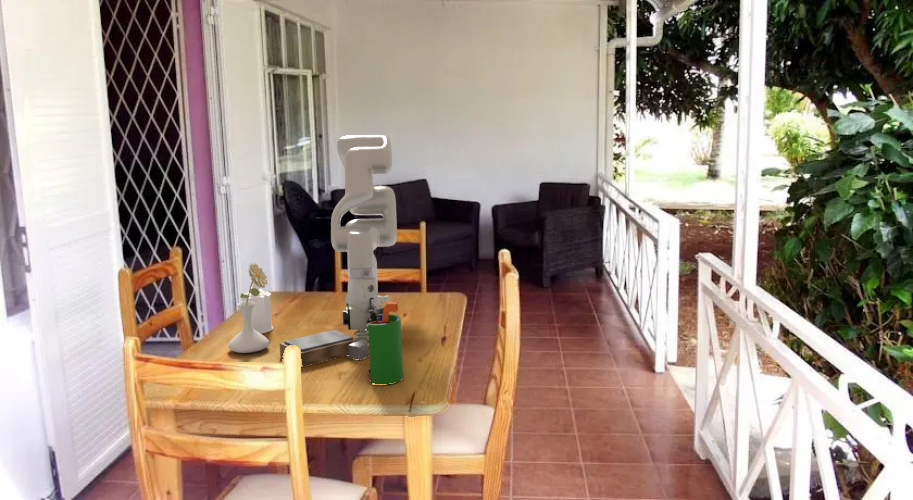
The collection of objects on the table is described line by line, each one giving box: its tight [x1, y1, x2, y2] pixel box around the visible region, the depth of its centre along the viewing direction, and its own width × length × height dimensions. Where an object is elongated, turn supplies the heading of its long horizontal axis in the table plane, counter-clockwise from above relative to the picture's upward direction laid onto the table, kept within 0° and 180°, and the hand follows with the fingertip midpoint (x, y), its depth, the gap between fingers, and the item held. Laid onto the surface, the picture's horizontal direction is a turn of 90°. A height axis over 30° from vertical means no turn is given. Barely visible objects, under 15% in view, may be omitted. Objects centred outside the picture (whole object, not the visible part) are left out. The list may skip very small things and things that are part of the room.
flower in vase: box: [227, 262, 270, 354], centre depth 209 cm, size 13×11×25 cm
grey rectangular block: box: [348, 339, 369, 361], centre depth 203 cm, size 6×4×4 cm, turn 147°
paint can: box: [240, 282, 274, 335], centre depth 228 cm, size 10×9×20 cm
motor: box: [367, 301, 404, 384], centre depth 185 cm, size 10×9×20 cm
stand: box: [279, 329, 358, 368], centre depth 205 cm, size 18×12×5 cm, turn 130°
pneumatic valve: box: [341, 305, 384, 341], centre depth 216 cm, size 6×12×12 cm, turn 101°
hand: (363, 329), depth 216 cm, fingers open, 9 cm apart
